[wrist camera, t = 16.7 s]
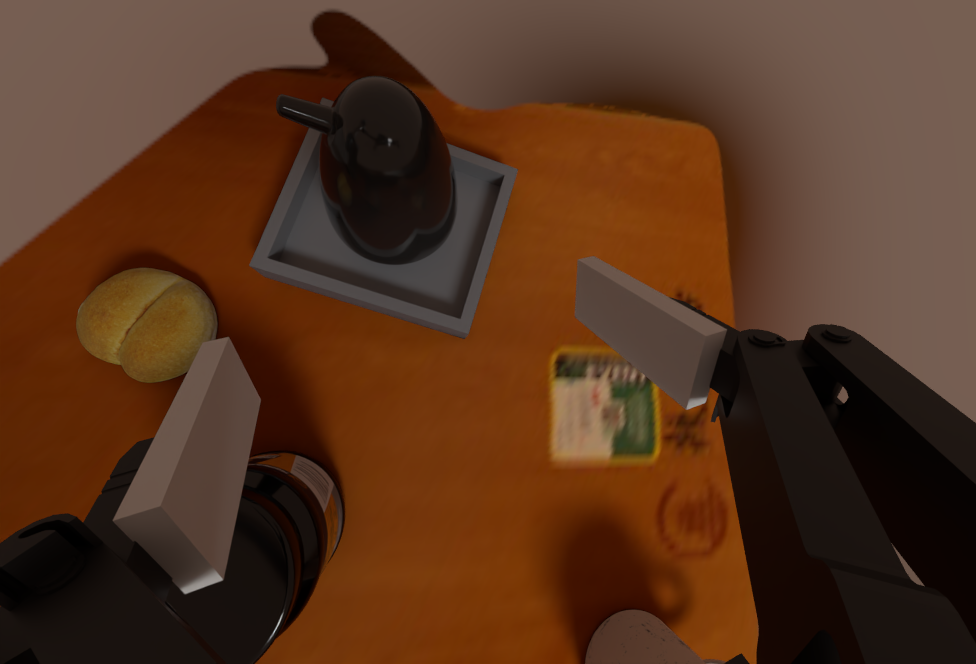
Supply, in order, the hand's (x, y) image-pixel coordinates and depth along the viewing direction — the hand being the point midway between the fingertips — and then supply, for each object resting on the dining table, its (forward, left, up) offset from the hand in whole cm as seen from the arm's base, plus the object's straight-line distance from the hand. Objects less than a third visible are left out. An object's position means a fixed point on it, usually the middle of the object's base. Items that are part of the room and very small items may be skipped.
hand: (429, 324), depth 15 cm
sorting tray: (-6, +11, -20) cm, 24 cm away
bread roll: (-21, -3, -20) cm, 30 cm away
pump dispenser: (-6, +11, -19) cm, 23 cm away
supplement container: (-7, -15, -20) cm, 26 cm away
